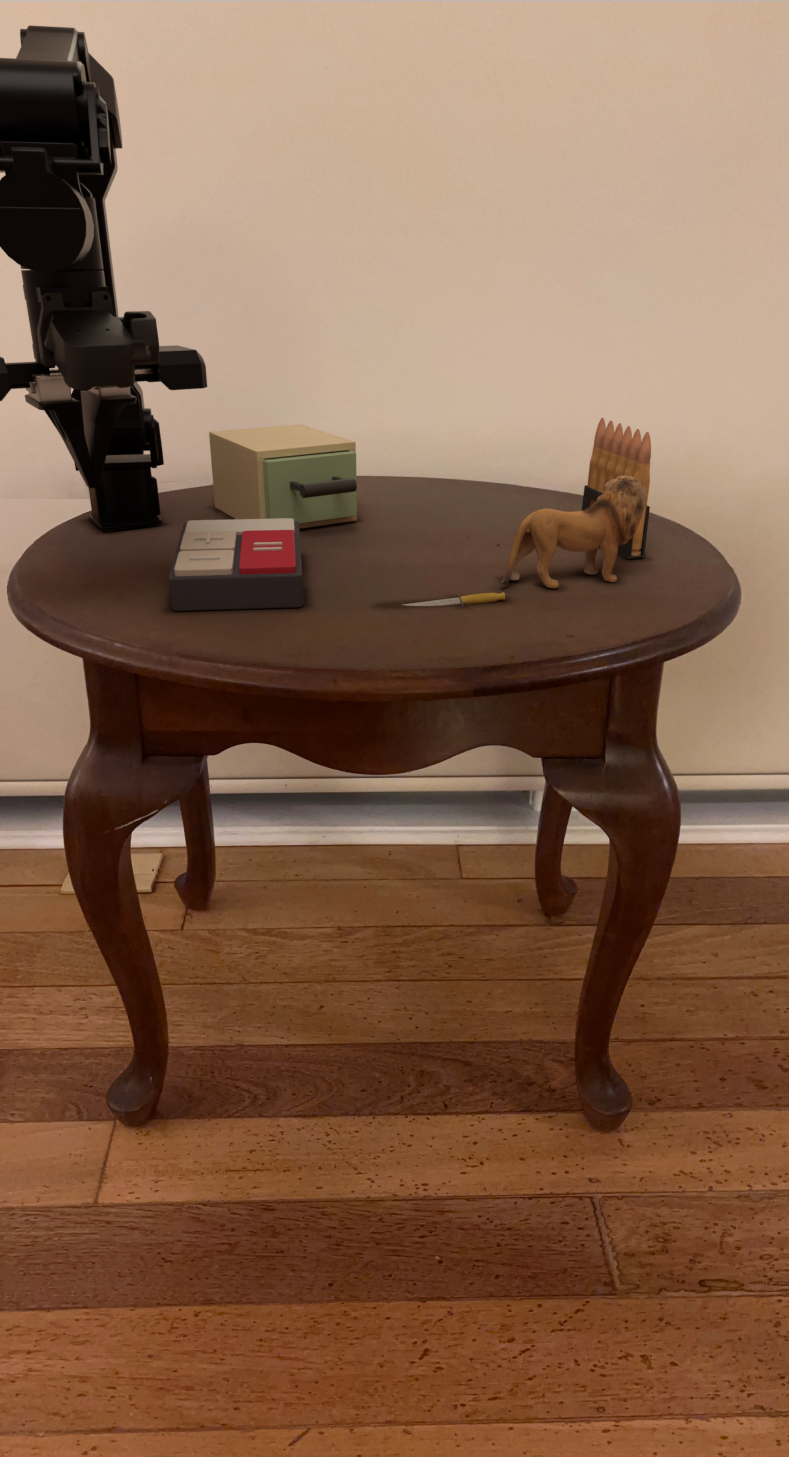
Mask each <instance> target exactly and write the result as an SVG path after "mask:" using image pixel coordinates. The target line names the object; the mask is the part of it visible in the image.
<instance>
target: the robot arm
mask: <svg viewBox="0 0 789 1457" xmlns="http://www.w3.org/2000/svg"><path fill="white" fill-rule="evenodd" d="M19 31H20V32H19V37H20V38H19V39H20V48H19V51H18V53H17V55H16V58H11V57H0V174H1V173H2V174H3V173H4V175H3V176H2V177H1V178H0V248H1V250H2V251H3V252H4V253H5V254H6V256H7V257H8V258H9V259H11V260H12V261H14V262H15V264H17V265H19V266H20V269H21V270H20V272H21V278H22V290H23V296H24V300H25V304H26V311H27V317H28V322H29V329H30V335H31V341H32V343H31V346H32V352H33V359H34V361H20V362H18V361H17V362H6V360H5V357H2V356H0V402H2V401H3V400H4V399H5V398H6V397H7V395H8V394H9V393H10V392H11V390H18V389H25V391H27V392H28V394H25V395H24V399H25V402H26V403H27V404H29V405H30V406H32V407H34V408H36V409H37V410H39V411H44V413H45V414H46V416H47V417H48V419H49V421H50V422H51V423H52V425H53V427H54V428H55V429H56V431H57V432H58V434H59V436H60V438H61V439H62V441H63V443H64V445H65V447H66V448H67V451H68V452H69V454H70V456H71V458H72V460H73V464H74V469H75V471H76V472H79V474H80V476H81V478H82V480H83V482H84V484H85V486H86V487H87V489H88V494H89V495H88V496H89V501H90V509H91V513H90V514H88V520H89V521H90V522H92V523H93V524H94V525H95V526H96V527H97V528H99V529H100V530H101V531H102V532H111V531H119V530H127V529H136V528H141V527H150V526H156V525H157V526H158V525H161V524H163V522H162V518H160V517H159V516H160V515H161V505H160V496H159V487H158V479H157V478H156V477H155V476H153V475H152V469H157V468H158V467H159V466H164V465H165V461H164V460H165V459H164V452H163V441H162V435H161V427H160V422H159V421H158V420H157V419H156V418H155V417H154V414H152V408H151V407H149V408H148V407H147V408H145V400H144V399H145V398H144V393H143V392H144V391H143V389H142V387H141V386H140V384H139V382H147V383H162V384H163V385H164V386H165V387H166V388H167V389H168V390H170V391H183V390H199V389H200V390H201V389H206V388H208V376H207V364H206V362H205V361H204V360H205V359H204V357H203V355H201V354H200V352H199V351H198V350H196V349H194V348H190V347H186V346H181V345H160V339H159V331H158V325H157V318H156V317H155V316H154V314H153V313H152V312H151V311H150V310H135V311H133V310H132V311H131V310H130V311H125V312H124V313H123V316H119V309H118V300H117V292H116V283H115V274H114V267H113V258H112V249H111V241H110V240H111V239H110V233H109V225H108V217H107V216H108V215H107V209H106V208H107V206H106V200H107V197H108V195H109V192H110V189H111V187H112V185H113V183H114V181H115V177H116V175H117V173H118V170H119V168H118V167H119V166H118V158H117V149H123V136H122V127H121V117H120V110H119V103H118V96H117V90H116V85H115V79H114V77H113V75H112V74H110V72H109V71H107V69H105V67H103V66H102V65H101V63H100V62H99V61H97V59H95V57H94V56H93V55H92V54H91V53H90V51H89V48H88V43H87V37H86V32H85V31H78V29H77V28H75V27H67V26H49V25H48V26H47V25H28V26H27V27H26V28H20V29H19ZM72 389H73V390H72ZM145 452H149V453H145Z"/></svg>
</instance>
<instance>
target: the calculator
mask: <svg viewBox="0 0 789 1457" xmlns="http://www.w3.org/2000/svg"><path fill="white" fill-rule="evenodd" d="M300 533H301V532H300V529H299V522H298V521H294V519H292V518H279V519H235V518H233V519H196V520H195V519H194V520H193V519H192V520H187V522H185V523H183V525H182V528H181V531H180V536H179V538H178V543H177V546H176V549H175V554H174V557H173V561H172V565H171V567H170V571H169V575H168V585H169V596H170V602H171V609H172V611H174V612H193V611H194V612H199V611H200V612H201V611H228V610H229V611H230V610H260V609H262V610H263V609H291V608H292V609H293V608H294V609H295V608H296V609H297V608H302V607H304V603H305V602H304V599H305V598H304V577H303V563H302V562H303V561H302V560H303V559H302V548H301V534H300Z"/></svg>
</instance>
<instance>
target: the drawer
mask: <svg viewBox="0 0 789 1457" xmlns="http://www.w3.org/2000/svg"><path fill="white" fill-rule="evenodd" d="M263 473H264V491H265V508H266V519H279V518H292V519H294V521H298V522H299V524H300V523H307V522H314V521H321V520H329V519H336V518H343V517H350V516H356V517H358V516H357V515H358V501H357V499H358V498H357V497H358V496H357V494H358V490H357V488H358V484H357V452H356V453H355V452H352V451H346V452H339V451H335V452H325V453H315V454H305V455H295V456H286V457H276V458H266V459H264V460H263Z"/></svg>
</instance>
